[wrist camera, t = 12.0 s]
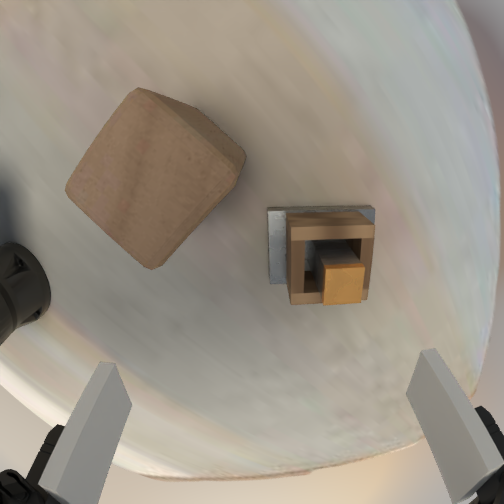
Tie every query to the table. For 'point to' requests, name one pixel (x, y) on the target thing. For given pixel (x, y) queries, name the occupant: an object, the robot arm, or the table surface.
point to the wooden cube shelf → (321, 228)
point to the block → (154, 174)
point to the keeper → (320, 256)
